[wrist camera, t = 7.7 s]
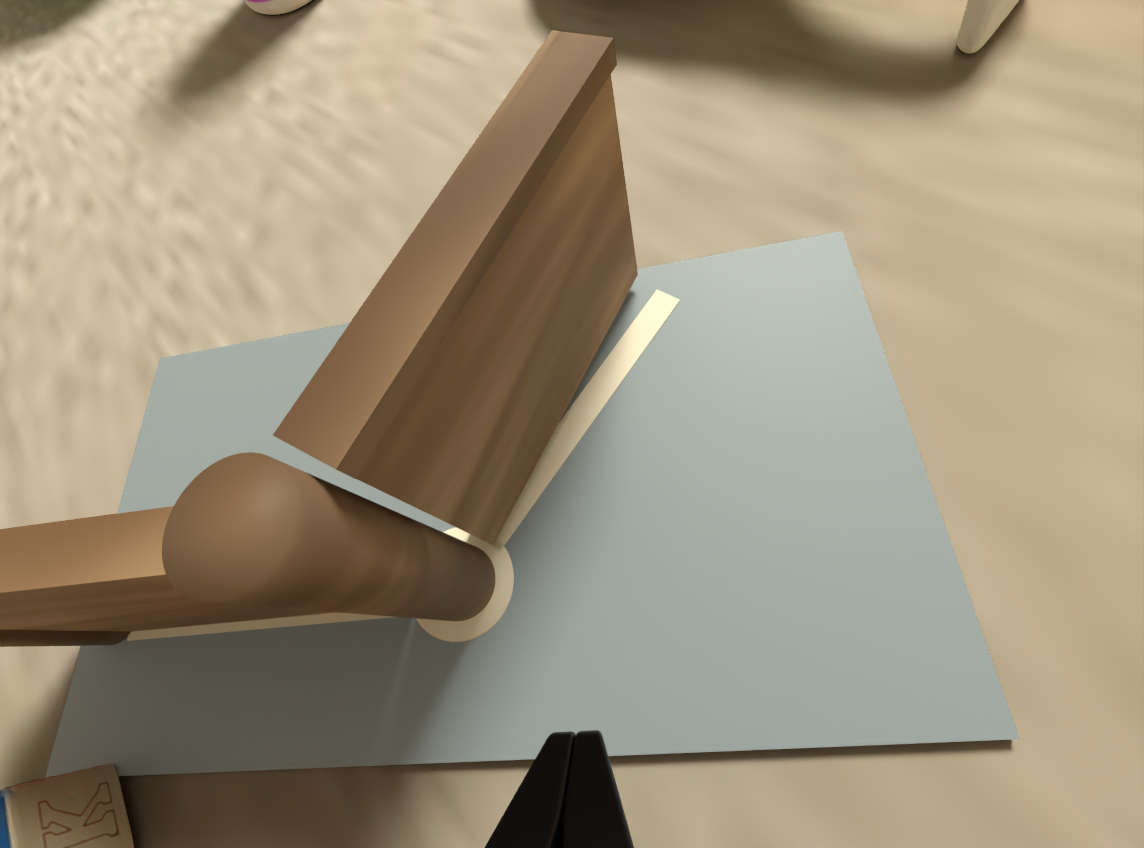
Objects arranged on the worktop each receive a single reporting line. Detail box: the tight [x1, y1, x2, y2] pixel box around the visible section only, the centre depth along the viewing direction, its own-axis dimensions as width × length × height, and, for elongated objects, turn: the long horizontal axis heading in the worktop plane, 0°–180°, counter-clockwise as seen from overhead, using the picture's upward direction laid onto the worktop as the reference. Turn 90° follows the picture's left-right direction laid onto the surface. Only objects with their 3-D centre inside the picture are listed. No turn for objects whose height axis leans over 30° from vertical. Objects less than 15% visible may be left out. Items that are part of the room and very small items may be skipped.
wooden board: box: [273, 30, 638, 545], centre depth 14 cm, size 2×11×8 cm, turn 152°
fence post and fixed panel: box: [0, 452, 495, 647], centre depth 14 cm, size 2×15×10 cm, turn 94°
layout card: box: [45, 231, 1019, 778], centre depth 18 cm, size 16×29×1 cm, turn 94°
